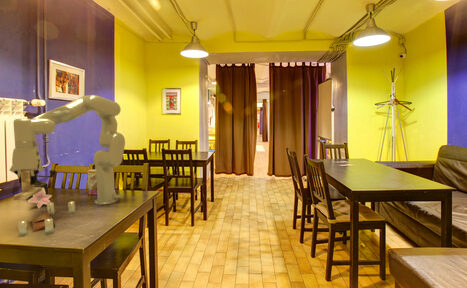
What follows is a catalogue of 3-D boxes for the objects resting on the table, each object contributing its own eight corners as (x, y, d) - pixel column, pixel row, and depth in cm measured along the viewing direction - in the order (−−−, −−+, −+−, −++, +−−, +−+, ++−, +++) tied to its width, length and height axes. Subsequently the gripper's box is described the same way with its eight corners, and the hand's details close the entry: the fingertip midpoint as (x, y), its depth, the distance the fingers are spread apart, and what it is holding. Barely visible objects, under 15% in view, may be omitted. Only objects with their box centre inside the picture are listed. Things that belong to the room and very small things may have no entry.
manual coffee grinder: (28, 202, 162) (26, 172, 160) (26, 198, 170) (24, 170, 168) (58, 196, 172) (56, 169, 171) (55, 193, 180) (53, 167, 179)
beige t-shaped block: (41, 190, 133) (40, 166, 132) (24, 199, 117) (22, 172, 116) (32, 191, 132) (30, 167, 131) (13, 200, 116) (12, 173, 115)
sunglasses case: (28, 221, 129) (36, 208, 131) (43, 225, 134) (51, 212, 136) (32, 233, 116) (40, 218, 118) (49, 236, 120) (57, 222, 122)
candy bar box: (87, 195, 176) (86, 170, 175) (92, 193, 181) (90, 169, 180) (104, 195, 175) (102, 170, 174) (108, 193, 180) (106, 169, 179)
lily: (23, 212, 146) (29, 198, 144) (25, 199, 155) (30, 186, 153) (49, 214, 154) (55, 200, 152) (49, 201, 163) (54, 188, 161)
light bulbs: (76, 211, 143) (75, 200, 143) (51, 233, 115) (50, 220, 114) (49, 213, 140) (48, 202, 140) (17, 236, 112) (16, 223, 112)
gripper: (49, 144, 128) (51, 181, 130) (9, 145, 125) (12, 183, 126) (41, 145, 121) (44, 185, 122) (-1, 146, 117) (2, 187, 119)
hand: (28, 183), depth 124 cm, fingers closed on beige t-shaped block, 3 cm apart
